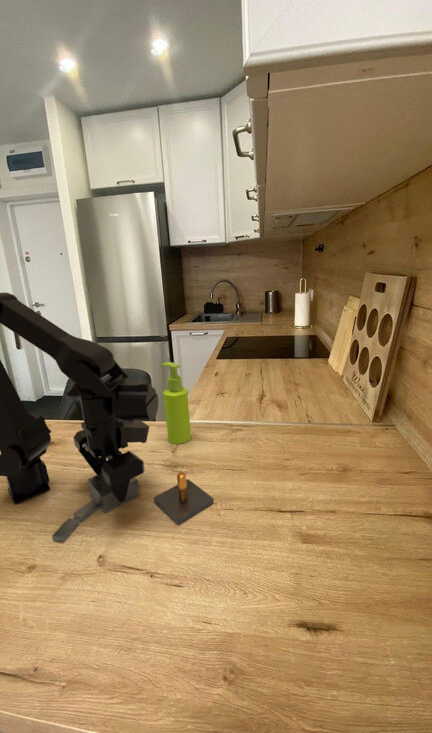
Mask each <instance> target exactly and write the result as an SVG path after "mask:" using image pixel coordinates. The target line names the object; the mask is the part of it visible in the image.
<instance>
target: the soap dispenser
mask: <svg viewBox="0 0 432 733" xmlns="http://www.w3.org/2000/svg"><path fill="white" fill-rule="evenodd" d="M159 366H160V367H166V368H168V369H169V373H170V375H169V376H168V377H167V378H166V380H167V389H166V388H165V389H164V390H163V404H164V411H165V422H166V433H167V441H168V442H169V443H171V444H174V445H182V444H185V443H187V442H189V441H190V440H191V438H192V436H191V435H192V433H191V421H190V408H189V394H188V389H187V388H186V387H183V382H182V376H181V375H178V368H180V367H181V365H180V364H178V363H176V362H172V361H166V362H163V363H161V364H159Z"/></svg>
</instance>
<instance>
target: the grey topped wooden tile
mask: <svg viewBox="0 0 432 733" xmlns="http://www.w3.org/2000/svg"><path fill="white" fill-rule="evenodd" d="M99 509H100V507H99V503H97V502H95V500H93V499H90V500H89V501H87V503H85V504H84V505H83V506H81V507H80V508H78V509H77V510H76V511H74V512H73V513H72V515H73V519H77V520H78V522H79V523H82V522H84V521H85V520H86V519H88V518H89V517H91V516H92V515H93V514H95V512H97V511H98V510H99Z"/></svg>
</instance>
